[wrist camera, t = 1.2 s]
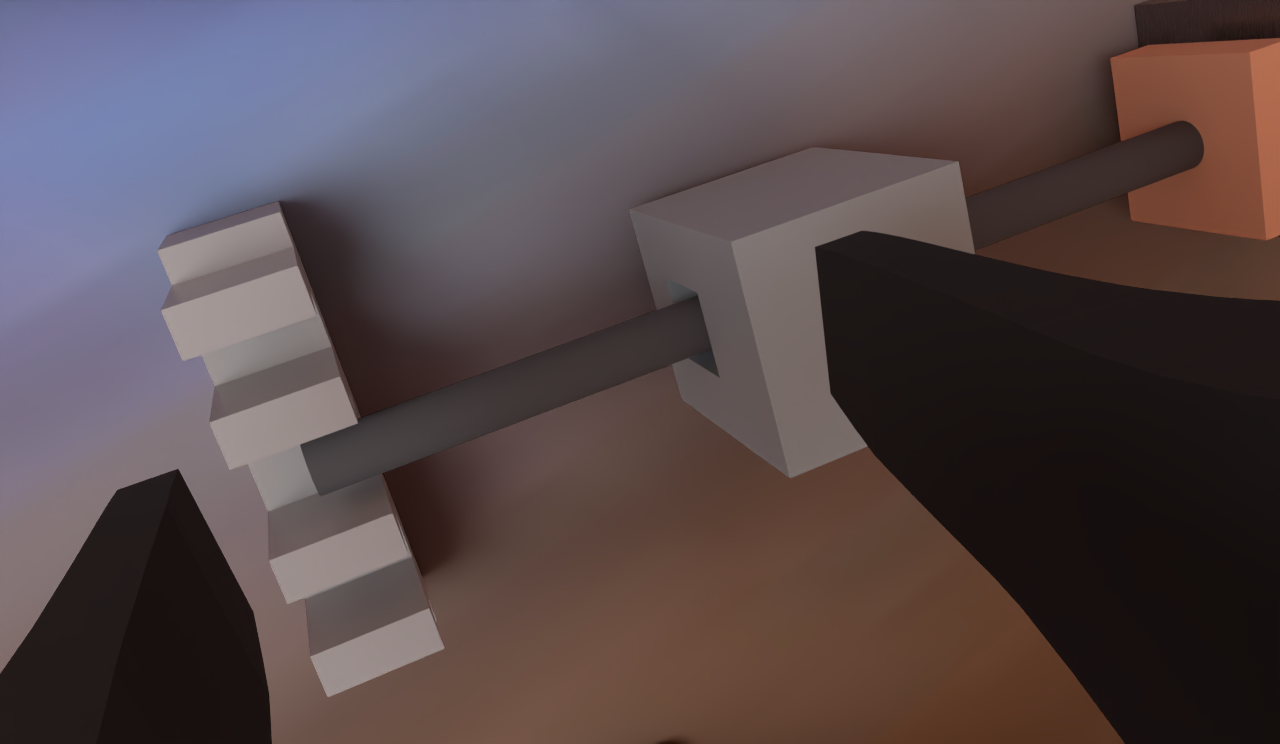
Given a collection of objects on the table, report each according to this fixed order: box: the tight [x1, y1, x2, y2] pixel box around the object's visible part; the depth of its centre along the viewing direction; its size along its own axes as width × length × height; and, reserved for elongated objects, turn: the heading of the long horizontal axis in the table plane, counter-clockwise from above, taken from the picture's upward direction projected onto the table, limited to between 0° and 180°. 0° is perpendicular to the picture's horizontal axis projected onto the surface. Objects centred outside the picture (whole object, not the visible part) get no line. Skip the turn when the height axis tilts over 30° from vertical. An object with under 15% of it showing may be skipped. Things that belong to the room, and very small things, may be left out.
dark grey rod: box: [300, 38, 1280, 496], centre depth 21 cm, size 21×4×4 cm, turn 106°
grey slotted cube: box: [629, 147, 975, 478], centre depth 20 cm, size 4×4×5 cm
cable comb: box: [157, 201, 445, 697], centre depth 19 cm, size 2×8×4 cm, turn 16°
